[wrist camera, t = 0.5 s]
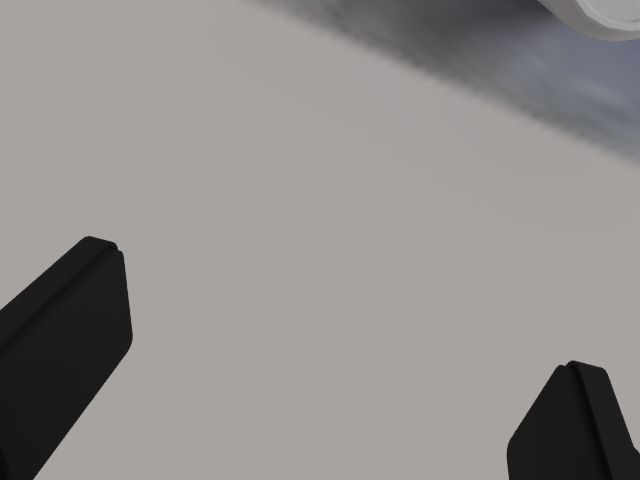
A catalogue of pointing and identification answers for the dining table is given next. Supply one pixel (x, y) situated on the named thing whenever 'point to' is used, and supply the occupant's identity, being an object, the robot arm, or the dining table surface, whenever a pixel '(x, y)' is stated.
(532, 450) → the robot arm
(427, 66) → the dining table surface
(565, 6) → the can
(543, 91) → the dining table surface
